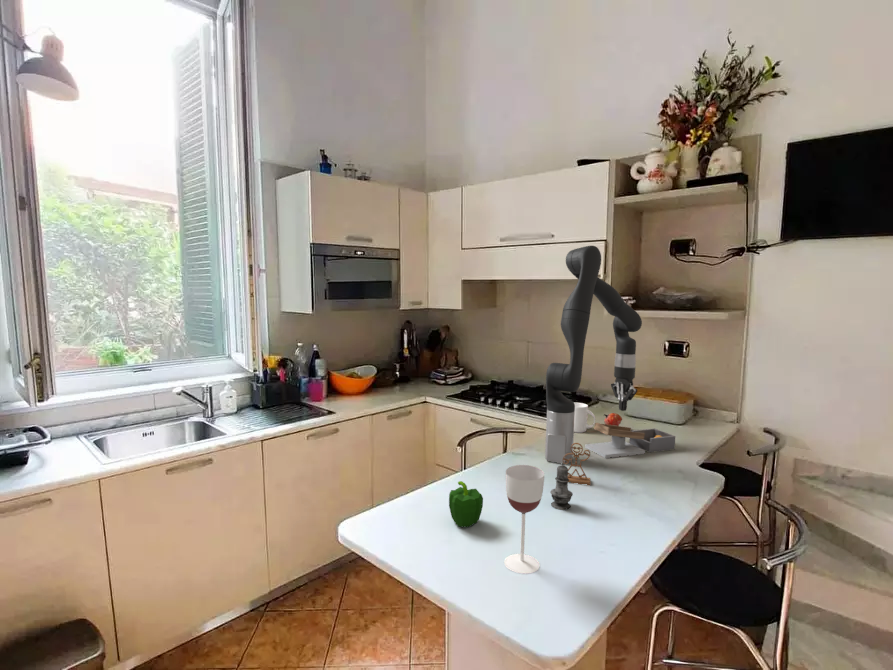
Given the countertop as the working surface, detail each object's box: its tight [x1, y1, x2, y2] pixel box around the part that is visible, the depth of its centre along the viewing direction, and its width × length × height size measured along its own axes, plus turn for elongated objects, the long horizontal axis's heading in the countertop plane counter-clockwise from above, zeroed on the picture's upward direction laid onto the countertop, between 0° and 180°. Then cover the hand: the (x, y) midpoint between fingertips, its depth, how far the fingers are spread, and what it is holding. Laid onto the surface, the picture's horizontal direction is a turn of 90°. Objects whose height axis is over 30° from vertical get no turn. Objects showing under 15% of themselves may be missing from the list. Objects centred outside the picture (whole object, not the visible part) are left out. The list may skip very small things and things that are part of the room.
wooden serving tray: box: [593, 422, 645, 440], centre depth 181 cm, size 15×16×2 cm
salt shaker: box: [550, 463, 574, 511], centre depth 131 cm, size 6×6×12 cm
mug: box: [573, 401, 596, 434], centre depth 202 cm, size 9×12×11 cm
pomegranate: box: [603, 412, 623, 426], centre depth 205 cm, size 7×7×10 cm
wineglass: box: [503, 464, 545, 575], centre depth 103 cm, size 8×9×20 cm
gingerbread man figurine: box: [563, 442, 591, 486], centre depth 148 cm, size 9×4×12 cm, turn 74°
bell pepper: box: [448, 480, 484, 528], centre depth 121 cm, size 8×8×10 cm
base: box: [584, 436, 646, 459], centre depth 178 cm, size 12×17×6 cm
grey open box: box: [628, 428, 676, 453], centre depth 183 cm, size 11×12×5 cm
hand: (622, 410), depth 187 cm, fingers closed
